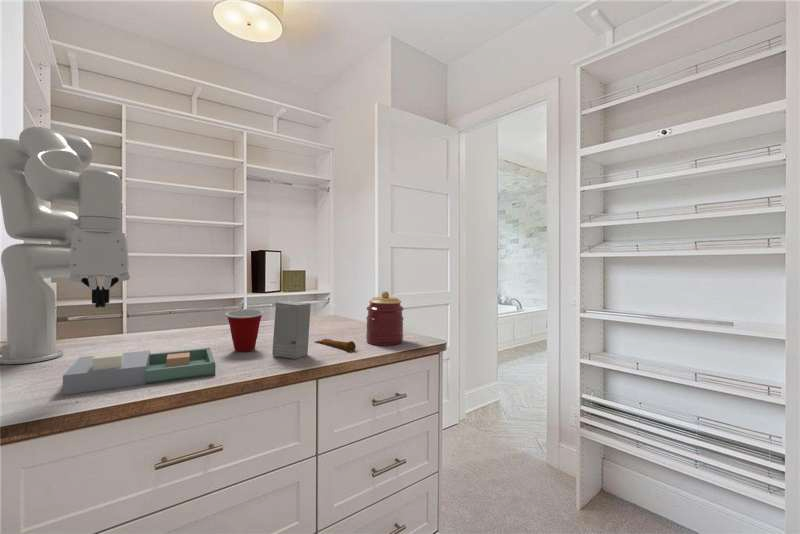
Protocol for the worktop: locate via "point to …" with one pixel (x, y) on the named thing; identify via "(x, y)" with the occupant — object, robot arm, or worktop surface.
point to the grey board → (106, 374)
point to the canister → (384, 320)
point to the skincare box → (291, 329)
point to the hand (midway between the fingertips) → (100, 306)
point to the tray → (198, 367)
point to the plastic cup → (244, 328)
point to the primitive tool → (338, 344)
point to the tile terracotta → (178, 359)
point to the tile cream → (108, 360)
